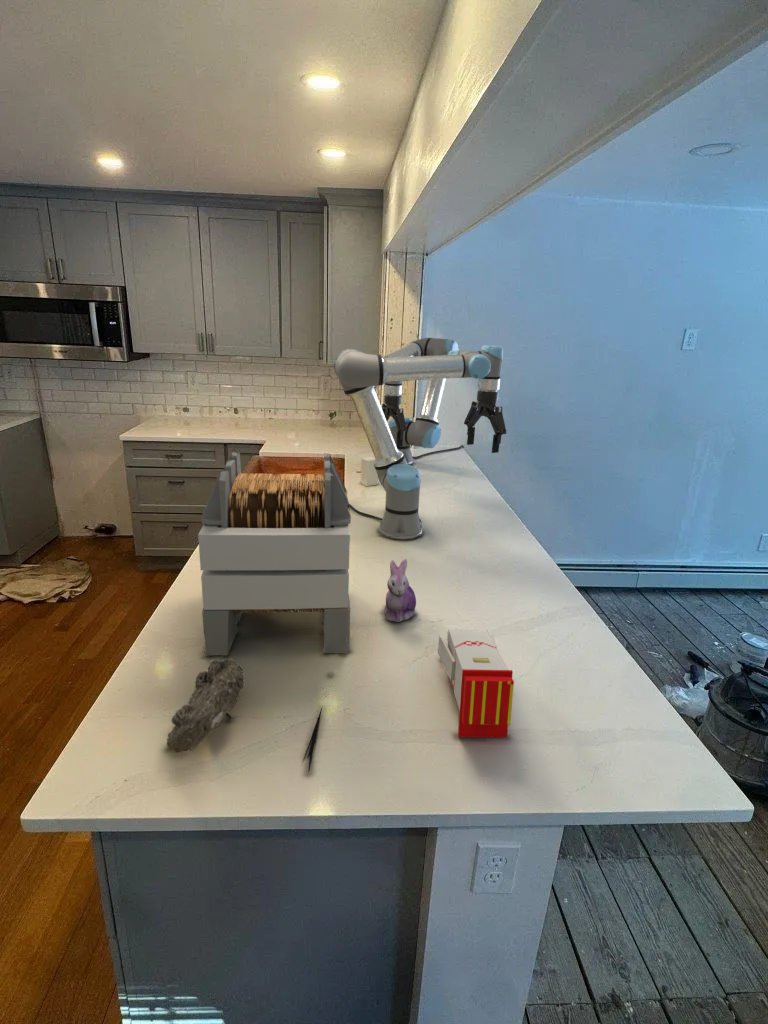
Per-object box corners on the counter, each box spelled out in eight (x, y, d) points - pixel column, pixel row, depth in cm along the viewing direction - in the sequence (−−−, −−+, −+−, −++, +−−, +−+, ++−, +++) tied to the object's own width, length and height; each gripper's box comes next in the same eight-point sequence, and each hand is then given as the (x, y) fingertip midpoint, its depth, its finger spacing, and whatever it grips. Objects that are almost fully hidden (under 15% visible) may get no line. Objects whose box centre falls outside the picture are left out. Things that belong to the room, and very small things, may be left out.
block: (366, 486, 251) (367, 460, 247) (360, 483, 255) (361, 457, 251) (377, 484, 254) (378, 459, 250) (371, 481, 258) (372, 456, 254)
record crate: (226, 586, 157) (217, 442, 143) (344, 585, 161) (346, 445, 147) (202, 658, 125) (189, 482, 112) (350, 654, 129) (354, 483, 115)
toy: (488, 613, 130) (523, 677, 101) (484, 667, 133) (517, 744, 104) (435, 612, 130) (455, 676, 101) (432, 666, 133) (451, 743, 103)
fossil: (192, 660, 117) (244, 628, 112) (224, 691, 120) (276, 661, 115) (142, 746, 98) (202, 712, 93) (182, 779, 101) (242, 748, 96)
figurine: (392, 627, 141) (395, 572, 136) (374, 608, 149) (376, 556, 144) (425, 619, 145) (429, 566, 140) (405, 601, 154) (408, 550, 149)
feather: (331, 679, 122) (336, 673, 122) (307, 777, 96) (313, 769, 95) (324, 675, 122) (329, 669, 121) (298, 772, 95) (304, 764, 95)
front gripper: (521, 395, 195) (513, 455, 202) (473, 385, 215) (467, 440, 222) (505, 395, 191) (498, 457, 198) (457, 386, 211) (453, 442, 218)
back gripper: (416, 399, 237) (413, 448, 244) (385, 390, 257) (383, 436, 264) (401, 400, 233) (399, 450, 241) (371, 390, 253) (369, 437, 261)
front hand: (482, 448), depth 210 cm, fingers open, 13 cm apart
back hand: (391, 442), depth 253 cm, fingers open, 13 cm apart
